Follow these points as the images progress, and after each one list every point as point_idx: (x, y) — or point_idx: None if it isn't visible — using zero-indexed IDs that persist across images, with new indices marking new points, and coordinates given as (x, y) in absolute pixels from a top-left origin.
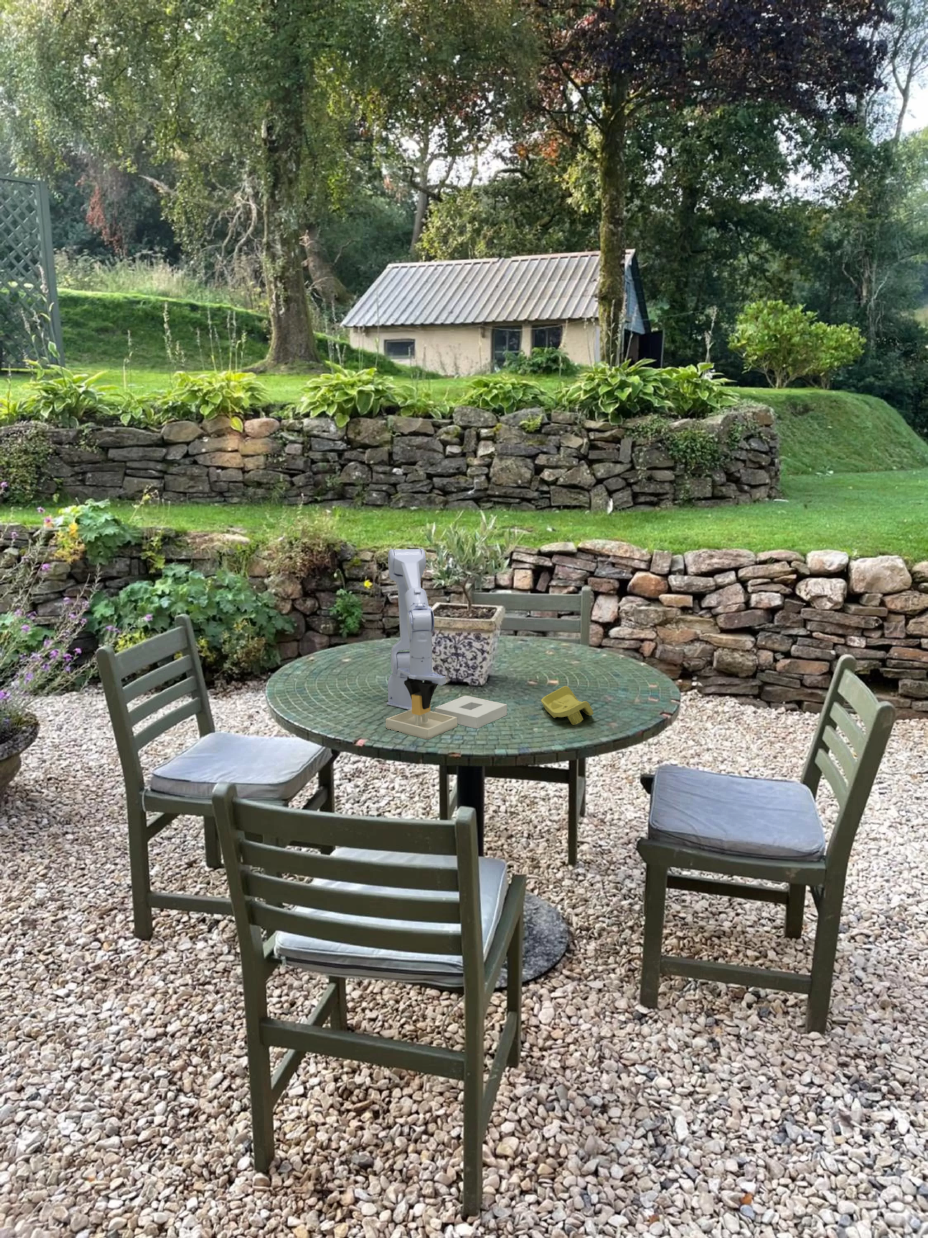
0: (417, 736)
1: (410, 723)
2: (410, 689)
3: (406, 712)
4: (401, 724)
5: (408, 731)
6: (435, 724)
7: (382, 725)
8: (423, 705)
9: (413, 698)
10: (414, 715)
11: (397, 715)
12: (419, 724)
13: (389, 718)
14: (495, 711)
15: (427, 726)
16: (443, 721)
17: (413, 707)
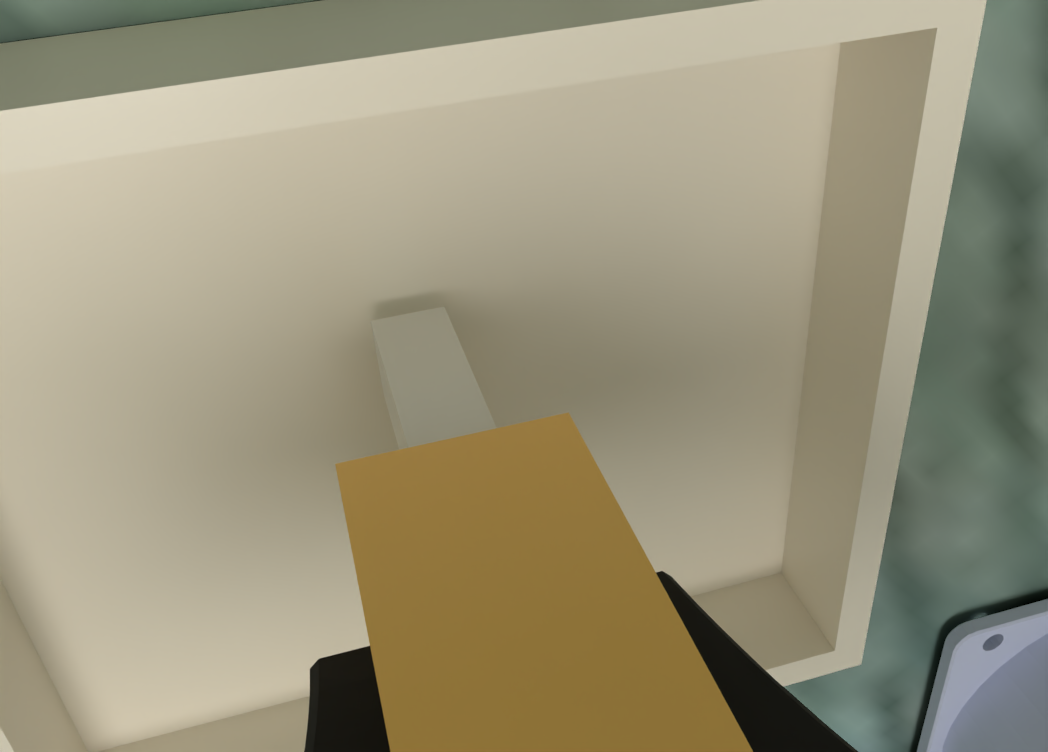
0: (41, 43)
1: (628, 348)
2: None
3: (858, 481)
4: (531, 23)
5: (300, 19)
6: (296, 589)
7: (1002, 7)
8: (335, 727)
9: (658, 734)
10: (788, 558)
11: (897, 281)
12: (381, 375)
13: (937, 45)
14: None
15: (308, 461)
16: (289, 713)
17: (567, 527)
